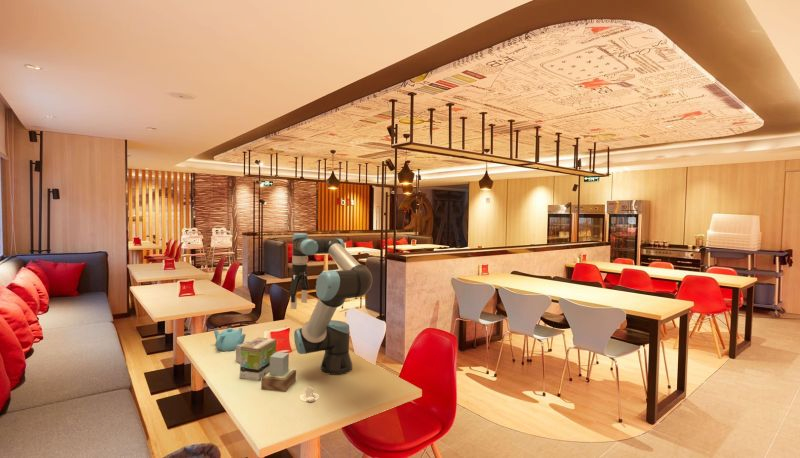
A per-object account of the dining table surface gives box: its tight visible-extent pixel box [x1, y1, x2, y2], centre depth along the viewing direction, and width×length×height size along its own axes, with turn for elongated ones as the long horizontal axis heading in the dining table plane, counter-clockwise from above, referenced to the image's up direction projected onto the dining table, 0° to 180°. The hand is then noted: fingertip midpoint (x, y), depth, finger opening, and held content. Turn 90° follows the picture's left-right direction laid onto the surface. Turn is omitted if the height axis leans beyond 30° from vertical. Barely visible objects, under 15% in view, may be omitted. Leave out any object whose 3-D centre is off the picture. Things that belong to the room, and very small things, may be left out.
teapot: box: [213, 327, 247, 352], centre depth 222 cm, size 15×15×11 cm
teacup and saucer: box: [299, 386, 320, 403], centre depth 166 cm, size 9×8×4 cm
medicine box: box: [235, 341, 251, 364], centre depth 203 cm, size 8×4×9 cm, turn 148°
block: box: [270, 351, 290, 376], centre depth 176 cm, size 6×6×8 cm
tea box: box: [239, 336, 277, 381], centre depth 188 cm, size 15×10×15 cm, turn 168°
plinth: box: [260, 368, 297, 392], centre depth 177 cm, size 11×11×5 cm
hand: (298, 305), depth 204 cm, fingers open, 13 cm apart
